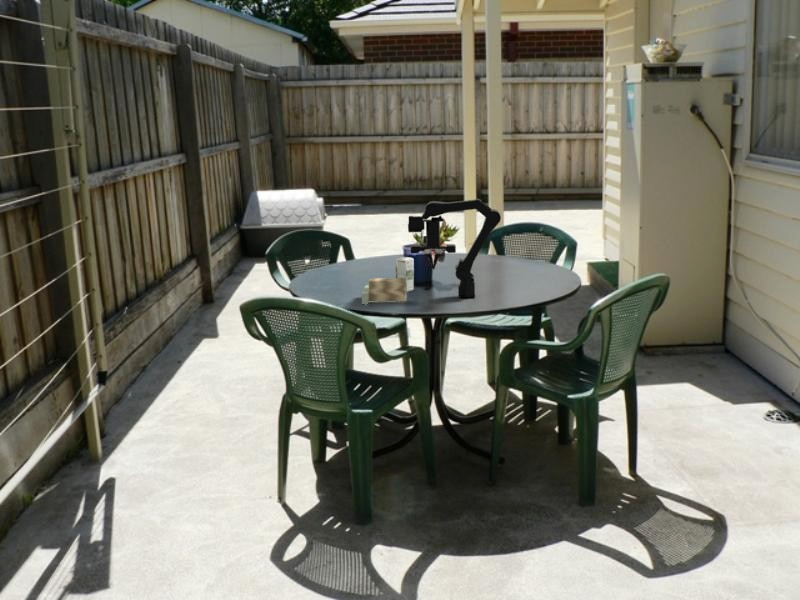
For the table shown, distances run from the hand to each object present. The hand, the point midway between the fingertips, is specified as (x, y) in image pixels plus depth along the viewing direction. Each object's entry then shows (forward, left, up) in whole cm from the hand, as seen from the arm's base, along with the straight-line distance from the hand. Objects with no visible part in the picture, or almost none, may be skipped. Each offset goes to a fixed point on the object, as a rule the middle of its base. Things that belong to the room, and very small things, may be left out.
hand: (433, 269), depth 363 cm
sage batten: (+28, +6, -12) cm, 31 cm away
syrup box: (+13, -13, -12) cm, 22 cm away
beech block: (+19, +6, -12) cm, 23 cm away
